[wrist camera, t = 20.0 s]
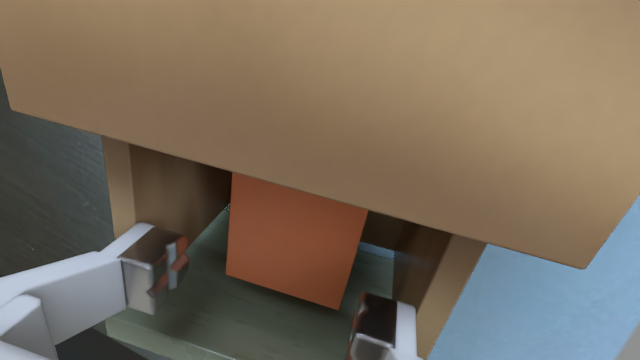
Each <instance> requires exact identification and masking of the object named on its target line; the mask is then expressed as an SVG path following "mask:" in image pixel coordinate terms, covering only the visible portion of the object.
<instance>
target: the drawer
mask: <svg viewBox="0 0 640 360" xmlns="http://www.w3.org/2000/svg"><path fill="white" fill-rule="evenodd" d="M102 143H103V151H104V159H105V166H106V174H107V182H108V189H109V197H110V205H111V212H112V220H113V228H114V235H115V240H116V239H117V238H119V237H120V236H121V235H123V234H124V233H125V232H127V231H128V230H129V229H130V228H132V227H133V226H134V225H136V224H137V223H140V222H145V223H148V224H151V225H154V226H158V227H161V228H164V229H167V230H170V231H173V232H176V233H179V234H182V235H184V236H186V237H188V238H189V247H188V249H187V250H186V251H185V252H186V254H187V255H188V257H189V267H188V271H187V273H186V275H185V277H184V279H183V281H182V282H181V283H180V285H179V286H178V287H177V288H175V289H172V290H170V291H168V299H167V300H166V301H165V302H164V304H163V305H162V306H161V307H160V308H159V310H158V311H157V312H156V313H155V314H154V315H151V314H148V313H145V312H141V311H138V310H135V309H132V308H129V307H126V309H125V310H123V311H121V312H119V313H117V314H115V315H113V316H111V317H109V318H107V319H105V324H106V329H107V335H108V336H109V337H112V338H115V339H118V340H120V341H123V342H126V343H129V344H132V345H134V346H137V347H140V348H143V349H146V350H148V351H151V352H154V353H157V354H160V355H162V356H165V357H168V358H171V359H174V360H344V357H345V354H346V351H347V348H348V345H347V341H348V336H349V331H350V327H351V323H352V320H353V316H354V313H355V311H356V310H357V307H358V302H359V298H360V295H361V292H362V290H363V291H366V292H369V293H373V294H376V295H379V296H383V297H386V298H389V299H393V300H396V301H400V302H403V303H407V304H410V305H414V307H415V309H416V344H417V356H418V357H420V358H423V360H427V358H428V356H429V354H430V352H431V350H432V348H433V346H434V345H435V343H436V341H437V339H438V337H439V335H440V333H441V331H442V329H443V327H444V325H445V323H446V322H447V320H448V318H449V316H450V314H451V312H452V310H453V308H454V306H455V304H456V302H457V301H458V299H459V297H460V295H461V293H462V291H463V289H464V287H465V285H466V283H467V281H468V280H469V278H470V276H471V274H472V272H473V270H474V268H475V266H476V264H477V262H478V260H479V259H480V257H481V255H482V253H483V251H484V249H485V247H486V245H487V243H485V242H481V241H477V240H474V239H470V238H467V237H463V236H460V235H456V234H452V233H449V232H445V231H442V230H438V229H434V228H431V227H427V226H424V225H420V224H417V223H413V222H409V221H406V220H402V219H399V218H395V217H392V216H388V215H384V214H381V213H377V212H374V211H370V210H369V212H368V216H367V219H366V222H365V226H364V229H363V232H362V236H361V239H360V241H362V242H365V243H369V244H372V245H376V246H379V247H383V248H386V249H390V250H393V251H395V252H394V260H391V259H388V258H385V257H381V256H378V255H375V254H371V253H368V252H364V251H361V250H358V249H357V253H356V256H355V259H354V263H353V266H352V269H351V273H350V276H349V279H348V283H347V286H346V289H345V293H344V296H343V300H342V303H341V306H340V309H339V310H336V309H333V308H329V307H326V306H323V305H320V304H317V303H314V302H311V301H307V300H304V299H301V298H298V297H295V296H292V295H289V294H285V293H282V292H279V291H276V290H273V289H270V288H267V287H264V286H260V285H257V284H254V283H251V282H248V281H245V280H242V279H238V278H235V277H232V276H229V275H226V261H227V246H228V231H229V216H230V212H228V211H225V210H224V209H225V207H226V206H227V205H228V204H229V203H230V201H231V186H232V172H230V171H227V170H223V169H220V168H216V167H212V166H209V165H205V164H202V163H198V162H195V161H191V160H187V159H184V158H180V157H177V156H173V155H169V154H166V153H162V152H159V151H155V150H152V149H148V148H144V147H141V146H137V145H134V144H130V143H126V142H123V141H119V140H116V139H112V138H109V137H105V136H102Z"/></svg>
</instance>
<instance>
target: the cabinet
mask: <svg viewBox="0 0 640 360" xmlns="http://www.w3.org/2000/svg"><path fill="white" fill-rule="evenodd" d="M0 69H1V73H2V77H3V81H4V85H5V88H6V92H7V96H8V100H9V104H10V108H11V109H12V110H13V111H15V112H19V113H23V114H26V115H30V116H33V117H37V118H41V119H44V120H48V121H51V122H55V123H58V124H62V125H66V126H69V127H73V128H76V129H80V130H83V131H87V132H91V133H94V134H98V135H101V136H105V137H109V138H112V139H116V140H119V141H123V142H126V143H130V144H134V145H137V146H141V147H144V148H148V149H152V150H155V151H159V152H162V153H166V154H169V155H173V156H177V157H180V158H184V159H187V160H191V161H195V162H198V163H202V164H205V165H209V166H212V167H216V168H220V169H223V170H227V171H230V172H234V173H237V174H241V175H245V176H248V177H252V178H255V179H259V180H263V181H266V182H270V183H273V184H277V185H280V186H284V187H288V188H291V189H295V190H298V191H302V192H306V193H309V194H313V195H316V196H320V197H323V198H327V199H331V200H334V201H338V202H341V203H345V204H349V205H352V206H356V207H359V208H363V209H366V210H370V211H374V212H377V213H381V214H384V215H388V216H392V217H395V218H399V219H402V220H406V221H409V222H413V223H417V224H420V225H424V226H427V227H431V228H434V229H438V230H442V231H445V232H449V233H452V234H456V235H460V236H463V237H467V238H470V239H474V240H477V241H481V242H485V243H488V244H492V245H495V246H499V247H503V248H506V249H510V250H513V251H517V252H520V253H524V254H528V255H531V256H535V257H538V258H542V259H546V260H549V261H553V262H556V263H560V264H563V265H567V266H571V267H574V268H578V269H585V268H586V267H587V266H588V265H589V263H590V262H591V260H592V259H593V258H594V256H595V255H596V254H597V252H598V251H599V249H600V248H601V247H602V245H603V244H604V243H605V241H606V240H607V238H608V237H609V236H610V234H611V233H612V232H613V230H614V229H615V227H616V226H617V225H618V223H619V222H620V221H621V219H622V218H623V217H624V215H625V214H626V212H627V211H628V210H629V208H630V207H631V206H632V204H633V203H634V201H635V200H636V199H637V197H638V196H639V195H640V0H0Z"/></svg>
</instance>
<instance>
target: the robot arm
mask: <svg viewBox="0 0 640 360" xmlns="http://www.w3.org/2000/svg"><path fill="white" fill-rule="evenodd" d="M188 247H189V238H188V237H186V236H184V235H182V234H179V233H176V232H173V231H170V230H167V229H164V228H161V227H158V226H154V225H151V224H148V223H145V222H140V223H137V224H136V225H134V226H133V227H132V228H130V229H129V230H128V231H127V232H125V233H124V234H123V235H121V236H120V237H119V238H117V239H116V240H115V241H113V242H112V243H111V244H110V245H108V246H107V247H106V248H104V249H103V250H102V251H100V252H96V251H93V252H89V253H86V254H82V255H79V256H75V257H72V258H68V259H65V260H61V261H58V262H54V263H51V264H47V265H44V266H40V267H36V268H33V269H29V270H26V271H22V272H19V273H15V274H12V275H8V276H5V277H1V278H0V360H59V359H58V356H57V352H56V349H55V345H57V344H59V343H60V342H63V341H64V340H66V339H68V338H70V337H72V336H74V335H76V334H78V333H80V332H82V331H84V330H86V329H88V328H90V327H92V326H94V325H96V324H98V323H99V322H101V321H103V320H105V319H107V318H109V317H111V316H113V315H115V314H117V313H119V312H121V311H123V310H125V309H126V307H129V308H132V309H135V310H138V311H141V312H145V313H148V314H151V315H154V314H155V313H156V312H157V311H158V310H159V308H160V307H161V306H162V305H163V304H164V302H165V301H166V300H167V299H168V291H170V290H172V289H175V288H177V287H178V286H179V285H180V283H181V282H182V281H183V279H184V277H185V275H186V273H187V271H188V267H189V257H188V255H187V254H186V252H185V251H186V250H187V249H188ZM347 345H348V348H347V351H346V354H345V357H344V360H423V358H420V357H418V356H417V344H416V309H415V307H414V305H410V304H407V303H403V302H400V301H396V300H393V299H389V298H386V297H383V296H379V295H376V294H373V293H369V292H366V291H363V290H362V292H361V295H360V298H359V302H358V307H357V310H356V311H355V313H354V316H353V320H352V323H351V327H350V331H349V336H348V341H347Z"/></svg>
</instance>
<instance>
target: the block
mask: <svg viewBox="0 0 640 360" xmlns="http://www.w3.org/2000/svg"><path fill="white" fill-rule="evenodd" d="M368 212H369V210H366V209H363V208H359V207H356V206H352V205H349V204H345V203H341V202H338V201H334V200H331V199H327V198H323V197H320V196H316V195H313V194H309V193H306V192H302V191H298V190H295V189H291V188H288V187H284V186H280V185H277V184H273V183H270V182H266V181H263V180H259V179H255V178H252V177H248V176H245V175H241V174H237V173H234V172H232V186H231V201H230V216H229V231H228V246H227V261H226V275H229V276H232V277H235V278H238V279H242V280H245V281H248V282H251V283H254V284H257V285H260V286H264V287H267V288H270V289H273V290H276V291H279V292H282V293H285V294H289V295H292V296H295V297H298V298H301V299H304V300H307V301H311V302H314V303H317V304H320V305H323V306H326V307H329V308H333V309H336V310H339V309H340V306H341V303H342V300H343V296H344V293H345V289H346V286H347V283H348V279H349V276H350V273H351V269H352V266H353V263H354V259H355V256H356V253H357V249H358V246H359V243H360V239H361V236H362V232H363V229H364V226H365V222H366V219H367V216H368Z"/></svg>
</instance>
